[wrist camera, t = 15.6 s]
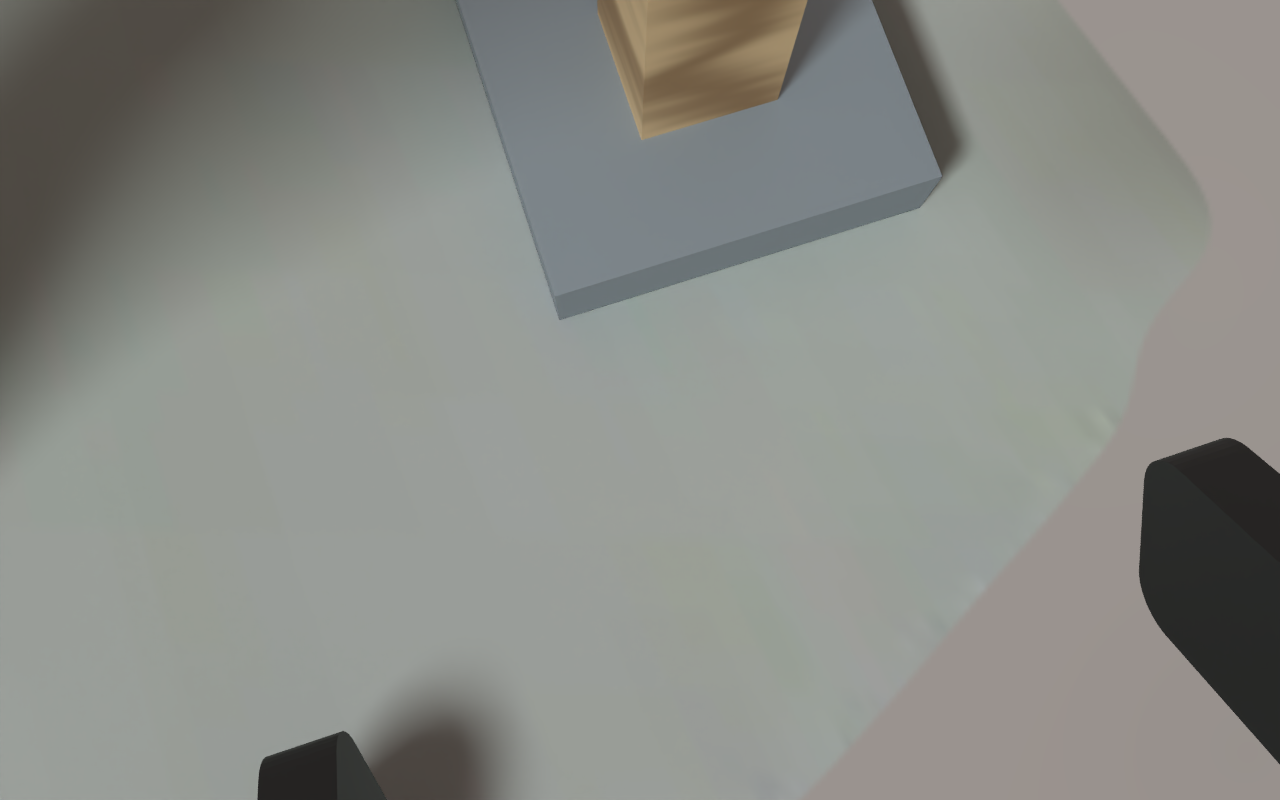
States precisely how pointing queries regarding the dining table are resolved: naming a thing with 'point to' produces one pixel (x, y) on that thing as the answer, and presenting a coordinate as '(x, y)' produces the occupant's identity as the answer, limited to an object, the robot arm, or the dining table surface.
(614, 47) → the block
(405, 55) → the dining table surface
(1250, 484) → the robot arm
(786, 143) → the plinth
